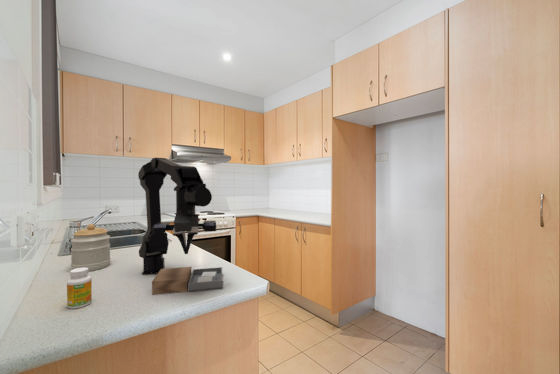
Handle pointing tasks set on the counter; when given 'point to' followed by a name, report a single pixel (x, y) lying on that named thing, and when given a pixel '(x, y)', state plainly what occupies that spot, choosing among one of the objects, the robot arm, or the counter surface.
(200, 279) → the tile
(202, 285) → the tray
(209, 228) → the robot arm
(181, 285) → the brown wooden block
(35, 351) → the counter surface
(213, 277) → the tile
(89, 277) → the supplement bottle
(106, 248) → the jar
